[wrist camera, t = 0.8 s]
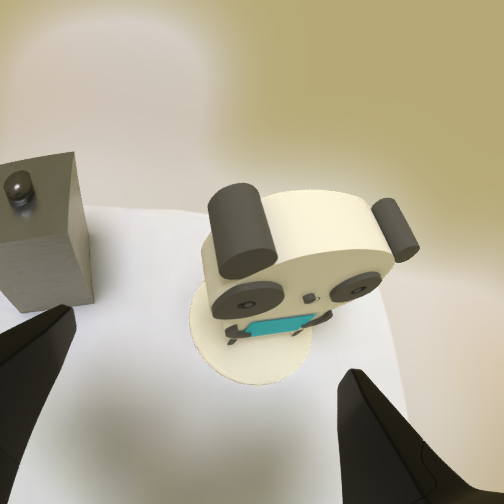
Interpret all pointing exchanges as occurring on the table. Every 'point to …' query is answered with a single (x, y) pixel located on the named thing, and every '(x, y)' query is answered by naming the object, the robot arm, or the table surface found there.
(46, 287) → the cover
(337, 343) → the table surface
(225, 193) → the panda figurine
